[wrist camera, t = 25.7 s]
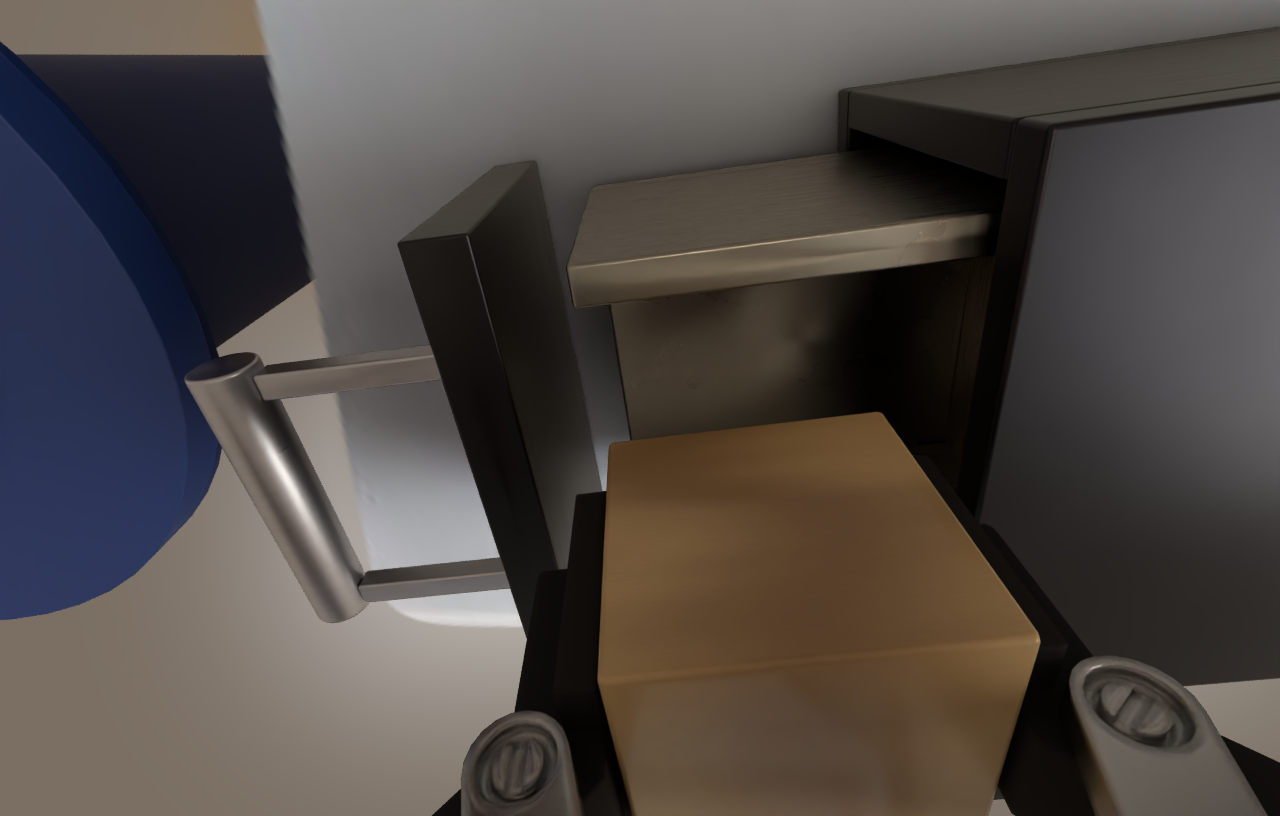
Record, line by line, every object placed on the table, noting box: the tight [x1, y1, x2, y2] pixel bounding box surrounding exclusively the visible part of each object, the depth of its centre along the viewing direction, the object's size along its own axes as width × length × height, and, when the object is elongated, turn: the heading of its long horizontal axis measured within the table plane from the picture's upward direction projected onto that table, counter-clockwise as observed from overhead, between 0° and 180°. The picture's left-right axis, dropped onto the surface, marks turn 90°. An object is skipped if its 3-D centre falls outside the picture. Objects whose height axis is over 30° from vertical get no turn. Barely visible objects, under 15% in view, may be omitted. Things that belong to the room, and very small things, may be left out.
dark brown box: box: [838, 27, 1280, 686], centre depth 15 cm, size 15×13×10 cm
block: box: [597, 412, 1041, 816], centre depth 9 cm, size 5×5×5 cm
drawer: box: [185, 145, 1008, 638], centre depth 16 cm, size 19×12×8 cm, turn 97°
